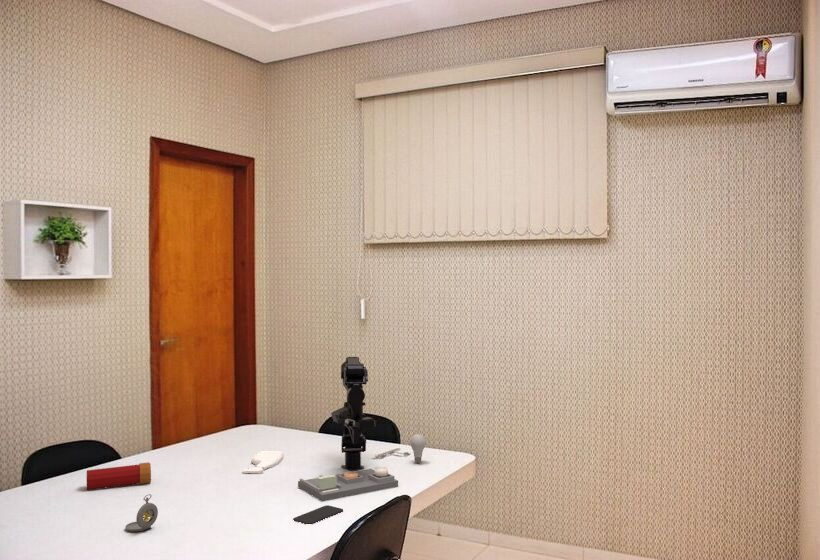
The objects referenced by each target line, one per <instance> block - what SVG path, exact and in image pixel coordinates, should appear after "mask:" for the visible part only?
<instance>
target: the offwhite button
mask: <svg viewBox="0 0 820 560" xmlns="http://www.w3.org/2000/svg"><path fill="white" fill-rule="evenodd" d="M374 470H375V476H379V477H383V476H387V475H388V473H389V468H388V467H386V466H377V467H374Z"/></svg>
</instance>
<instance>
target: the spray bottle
mask: <svg viewBox="0 0 820 560" xmlns="http://www.w3.org/2000/svg"><path fill="white" fill-rule="evenodd" d="M284 457H285V454H284V452H283V451H281V450H262V451H259V452H258V453H256V454H254V456H253V457H252V458H251V464H252V463H253V464H252V465H254V464H255V466H254V467H252V468H251V467H247V469H242V472H241V473H242V474H248V473H260V474H264V471H265V470H267V468H268V469H270V468H272V466H273V467H276V466H277V465H278V464H280V463H281V462H282V460H283V459H284ZM280 461H281V462H280ZM279 462H280V463H279ZM276 464H277V465H276Z"/></svg>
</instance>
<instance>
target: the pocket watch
mask: <svg viewBox="0 0 820 560" xmlns="http://www.w3.org/2000/svg"><path fill="white" fill-rule="evenodd" d="M149 496H150V497H149ZM151 498H152V494H150V493H149V494H146V495H145V496H144V497H143V501H145V503H144V504H143V505H141V506H140V508H138V511H137V514H136V517H135V518H136V519H135V520H136V521H133V522H129V523H127V524H126V525H125V530H126V531H127V532H132V533H133V532H138V533H139V532H142V531H145V530H148V529H150V528H151V527H152V526H153V525H154V524H155V522H156V520H157V519H158V515H159V509H158V507H157V505H156V504H155V503H153V502H149V500H150V499H151Z"/></svg>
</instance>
